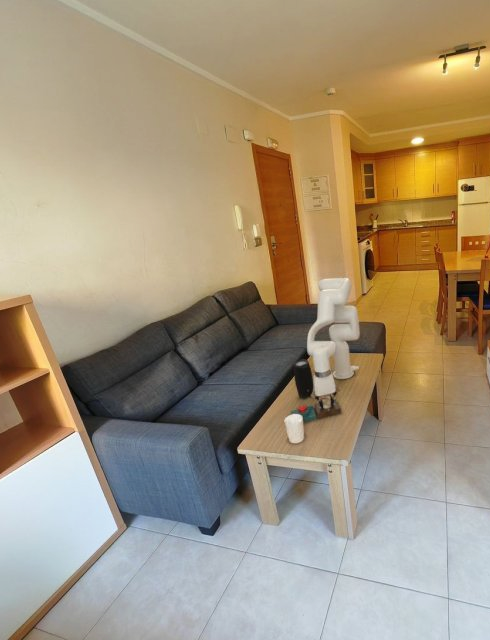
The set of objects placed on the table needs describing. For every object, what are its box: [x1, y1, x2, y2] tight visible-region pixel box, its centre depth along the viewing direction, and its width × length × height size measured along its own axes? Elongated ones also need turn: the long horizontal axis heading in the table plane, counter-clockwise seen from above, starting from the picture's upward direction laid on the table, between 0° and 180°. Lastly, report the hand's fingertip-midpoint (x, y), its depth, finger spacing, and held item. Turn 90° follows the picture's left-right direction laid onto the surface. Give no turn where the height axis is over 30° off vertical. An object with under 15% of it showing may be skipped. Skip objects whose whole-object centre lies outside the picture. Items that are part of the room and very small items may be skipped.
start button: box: [298, 405, 306, 413], centre depth 163 cm, size 4×4×2 cm
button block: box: [290, 405, 317, 424], centre depth 164 cm, size 11×9×4 cm
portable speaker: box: [293, 358, 314, 400], centre depth 181 cm, size 9×9×20 cm
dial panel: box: [313, 398, 342, 420], centre depth 167 cm, size 11×9×3 cm
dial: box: [321, 395, 331, 408], centre depth 165 cm, size 4×4×5 cm
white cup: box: [284, 414, 305, 444], centre depth 148 cm, size 8×8×10 cm
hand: (326, 405), depth 166 cm, fingers closed on dial, 4 cm apart
